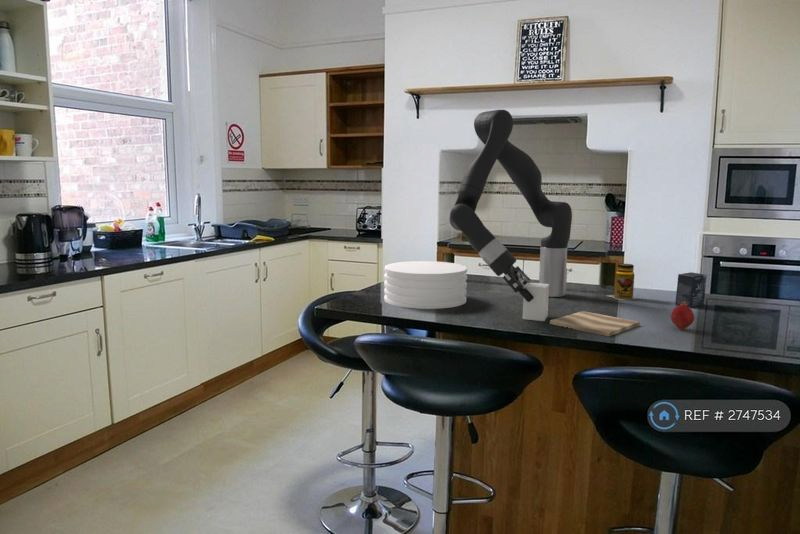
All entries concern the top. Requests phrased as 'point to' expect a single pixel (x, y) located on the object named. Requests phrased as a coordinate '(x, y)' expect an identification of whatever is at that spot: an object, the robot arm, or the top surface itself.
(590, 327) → the board
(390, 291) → the plate stack
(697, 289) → the box
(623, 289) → the condiment
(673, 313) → the onion
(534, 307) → the light grey rectangular block
